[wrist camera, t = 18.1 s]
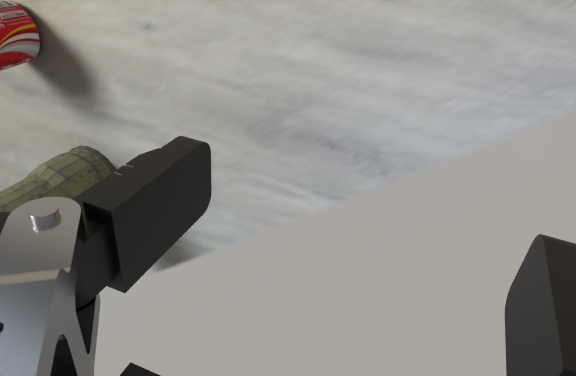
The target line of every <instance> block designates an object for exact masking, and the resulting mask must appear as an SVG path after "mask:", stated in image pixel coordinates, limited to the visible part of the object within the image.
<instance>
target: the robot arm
mask: <svg viewBox="0 0 576 376" xmlns="http://www.w3.org/2000/svg"><path fill="white" fill-rule="evenodd" d="M210 199H211V150H210V146H209V144H208V143H206V142H203V141H199V140H195V139H192V138H188V137H184V136H178V137H177V138H175V139H174V140H172V141H171V142H169V143H168V144H166V145H165V146H163V147H162V148H160V149H159V148H158V149H155V150H152V151H149V152H146V153H143V154H140V155H138V156H137V157H135V158H134V159H132V160H131V161H129V162H128V163H126V165H125V166H122V167H120V168H119V169H117V170H116V171H114V174H112V173H111V174H110V175H108V176H107V177H105V178H103V179H102V180H100V181H99V182H97V183H96V184H94V185H93V186H91V187H90V188H88V189H87V190H85V191H84V192H82V193H81V194H79V195H78V196H76V197H75V198H73V199H69V198H65V197H44V198H39V199H35V200H32V201H29V202H27V203H24V204H22V205H20V206H19V207H17V208H16V209H15V210H13V211H12V212H0V376H94V362H95V352H96V341H97V330H98V321H99V311H100V296H99V292H100V291H102V289H104V288H105V287H106V286H108V287H111V288H113V289H116V290H118V291H121V292H123V293H126V292H127V291H128V290H129V289H130V287H132V286H133V284H135V283H136V282H137V281H138V280H139V279H140V278H141V277H142V276H143V274H144V273H145V272H146V271H147V270H148V269H149V268H150V267H151V266H152V265H153V264H154V263H155V262H156V261H157V260H158V259H159V258H160V257H161V256H162V255H163V254H164V253H165V252H166V251H167V250H168V249H169V248H170V247H171V246H172V245H173V244H174V243H175V242H176V241H177V240H178V239H179V238H180V237H181V236H182V235H183V234H184V233H185V232H186V231H187V230H188V229H189V228H190V227H191V226H192V225H193V224H194V223H195V222H196V221H197V220H198V219H199V218H200V217H201V216H202V215H203V214H204V213H205V211H206V209H207V207H208V205H209V202H210ZM505 337H506V371H507V376H576V244H574V243H571V242H567V241H564V240H560V239H556V238H553V237H549V236H545V235H542V234H539V235H538V236H537V237H536V238H535V239H534V241H533V243H532V245H531V247H530V248H529V251H528V253H527V255H526V257H525V259H524V261H523V263H522V265H521V267H520V269H519V271H518V273H517V275H516V277H515V279H514V281H513V283H512V285H511V287H510V290H509V293H508V296H507V300H506V305H505ZM120 376H160V375H158V374H155V373H153V372H151V371H149V370H146V369H144V368H142V367H140V366H137V365H135V364H133V363H130V364H129V365H128V366H127V367H126V369H125V370H124V371H123V372H122V374H121V375H120Z"/></svg>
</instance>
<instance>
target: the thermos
mask: <svg viewBox="0 0 576 376" xmlns="http://www.w3.org/2000/svg"><path fill="white" fill-rule="evenodd" d="M114 171H115V169H114V167H113V166H112V164H111V163H110V162H109V161H108V159H107V158H106V157H105V156H104V155H102V154H101V153H100V152H98V151H97V150H95V149H93V148H90V147H87V146H79V147H76V148H73V149H71V150H70V151H69V152H67V153H63V154H60V155H58V156H56V157H54V158H52V159H50V160H48V161H46V162H45V163H43V164H41V165H39V166H38V167H37V168H36V169H34V170H33V171H32V172H31V173H29V174H28V176H27V177H26V178H25V179H23V180H21V181H19V182H18V183H16V184H14V185H12V186H10V187H8V188H7V189H5V190H3V191H1V192H0V212H12V211H13V210H15V209H16V208H17V207H19V206H20V205H22V204H24V203H27V202H29V201H32V200H35V199H39V198H44V197H65V198H69V199H73V198H75V197H76V196H78V195H79V194H81V193H82V192H84V191H85V190H87V189H88V188H90V187H91V186H93V185H94V184H96V183H97V182H99V181H100V180H102V179H103V178H105V177H107V176H108V175H110V174H111V173H112V174H114Z"/></svg>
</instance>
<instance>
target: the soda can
mask: <svg viewBox="0 0 576 376" xmlns="http://www.w3.org/2000/svg"><path fill="white" fill-rule="evenodd" d="M39 48H40V40H39V34H38V30H37V27H36V25H35V23H34V22H33V20H32V19H31V17H30V16H29V15H28V13H27V12H26V11H25V10H24V9H23V8H22V7H20V6H19V5H18V4H16V3H14V2H11V1H0V71H1V70H4V69H7V68H10V67H14V66H17V65H20V64H22V63H25V62H27V61H29V60H31V59H33V58H35V57H36V56H37V54H38V52H39Z"/></svg>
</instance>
